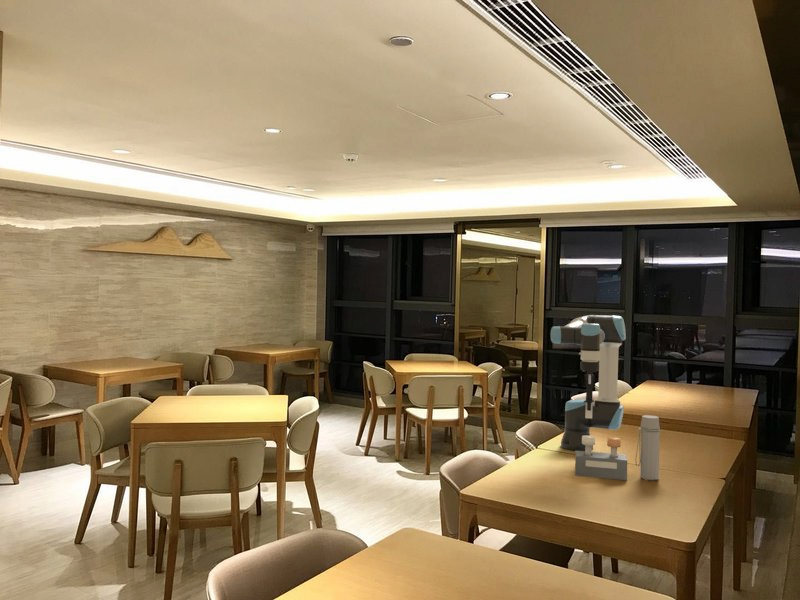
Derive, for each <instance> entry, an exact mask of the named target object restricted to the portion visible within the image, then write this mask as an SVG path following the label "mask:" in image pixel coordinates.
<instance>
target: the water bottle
mask: <svg viewBox="0 0 800 600" xmlns="http://www.w3.org/2000/svg"><path fill="white" fill-rule="evenodd" d="M660 431H661V427H660V418H659V416H657V415H650V414H648V415H647V414H644V415H642V416H641V421H640V427H638V437H637V438H638V439H637V445H636V453H635V466H636V467H640V469H639V471H640V478H641V479H643V480H646V481H657V480H659V478H660V438H661V437H660V436H661V434H660ZM639 447H640V459H639V463H638V464H637V456H638V452H639V451H638V450H639Z"/></svg>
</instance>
